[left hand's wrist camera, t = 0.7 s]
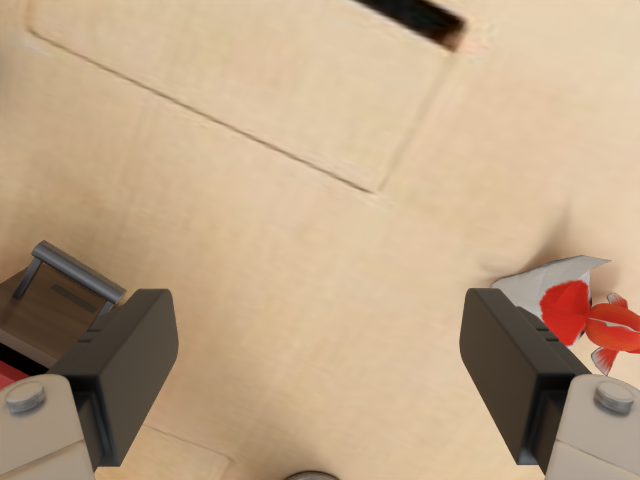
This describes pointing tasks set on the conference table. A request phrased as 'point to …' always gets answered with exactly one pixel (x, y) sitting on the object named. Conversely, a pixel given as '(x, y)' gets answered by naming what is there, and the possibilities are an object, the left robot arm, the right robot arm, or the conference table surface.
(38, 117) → the conference table surface
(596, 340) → the fish
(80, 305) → the drawer
